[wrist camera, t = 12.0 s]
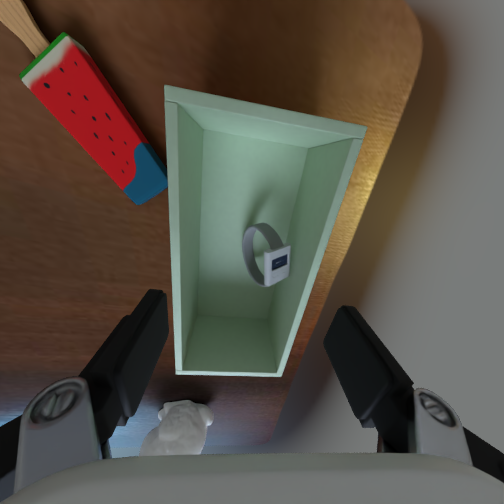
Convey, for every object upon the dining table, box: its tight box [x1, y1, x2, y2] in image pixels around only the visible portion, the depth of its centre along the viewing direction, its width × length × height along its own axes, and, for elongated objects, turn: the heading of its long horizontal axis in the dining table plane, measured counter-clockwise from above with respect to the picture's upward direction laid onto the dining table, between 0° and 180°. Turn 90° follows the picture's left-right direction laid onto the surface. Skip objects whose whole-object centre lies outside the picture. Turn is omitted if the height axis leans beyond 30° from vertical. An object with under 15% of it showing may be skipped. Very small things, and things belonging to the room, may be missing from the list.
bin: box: [164, 85, 367, 377], centre depth 17 cm, size 21×10×8 cm, turn 172°
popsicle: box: [0, 0, 168, 205], centre depth 14 cm, size 5×2×15 cm
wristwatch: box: [242, 222, 291, 287], centre depth 17 cm, size 6×3×5 cm
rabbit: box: [139, 400, 214, 456], centre depth 27 cm, size 12×9×12 cm
